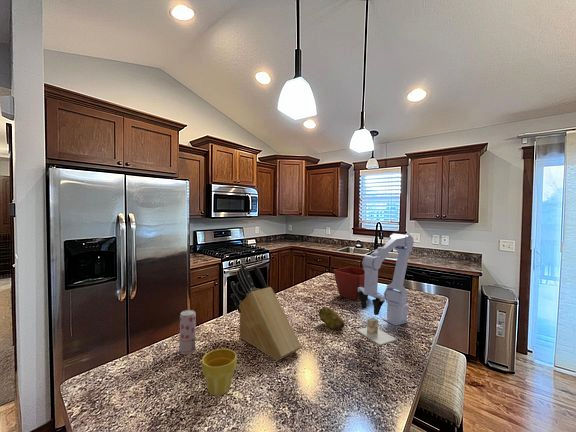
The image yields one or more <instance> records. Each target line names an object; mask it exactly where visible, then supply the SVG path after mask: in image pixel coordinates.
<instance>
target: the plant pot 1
mask: <svg viewBox="0 0 576 432" xmlns="http://www.w3.org/2000/svg"><path fill="white" fill-rule="evenodd" d="M237 359H238V358H237V353H236V352H235V351H234V350H232V349H229V348H217V349H213V350H210V351H209V352H207V353H205V354H204V356H202V358H201V373H202V374H203V375H204V377H205V382H206V383H205V384H206V388H207V391H208V393H209V394H210V395H212V396H217V397H218V396H222V395H225V394H227V393H228V392H229V391H230V389H231V386H232V381H233V376H234V373H235V372H234V371H235V370H236V368H237V362H238V360H237Z"/></svg>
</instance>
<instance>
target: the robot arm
mask: <svg viewBox="0 0 576 432" xmlns="http://www.w3.org/2000/svg"><path fill="white" fill-rule="evenodd" d="M414 242H415V241H414V238H413V236H412V235H411V234H401V233H396V232H395V233H393V232H392V234H390V235H389V237H388V241H387V242H386V243H385V244H384V245H383V246H378V247H377V248H376V249H375V250H374V251H372V253H371V254H369V255H368V254H367V255H365V256H364V257H363V259H362V261H361V265H362V268H363V269H364V271H365V282H364V288H363V287H358V292H359V293H357V295H358V297H359V299H360V300H359V301H360V305H361V307H360V308H361V309H362V310H364V309H365V310H366V309H367V305H368V304H367V302H368V298H369V296H370V297H373V299H372V300H371V301H372V305H373V314H374V316H378V315H379V314H380V311H381V308H382V306H383V304H384V303H386V305H387V309H386V310H387V311H386V317H383V318H382V320H384V321H385V322H388V323H389V324H392V325H393V326H399V325H403V324H407V323H409V320H408V306H407V305H406V304H407V303H408V290H407V289H406V287H405V286H404V282H405V276H406V272H407V268H408V262H409V257H410V253H412V251H413V247H414ZM392 250H395V251H397V256H396V257H397V259H396V263H395V267H394V272H393V276H392V277H393V278H392V282H391V283H390V284H387V285H386V288H385V290H384V292H383V294H381V293H380V292H378V281H379V269H380V268H381V267H382V264H383V262H384V261H385V260H386V259H387V258H388V257H389V253H390V252H391V251H392Z"/></svg>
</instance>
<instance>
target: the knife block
mask: <svg viewBox="0 0 576 432" xmlns="http://www.w3.org/2000/svg"><path fill="white" fill-rule="evenodd" d="M252 271H253V272H254V273H255V276H256V277H257V279H258V281H259V282H260V284H261V287H262V288H256V286H255V283H254V281H253V280H254V279H253V278H252V276H251V274H250V272H249V269H248V268H247V265H246V264H241V265H240V267H239V268H238V269H237V271H236V276H237V280H238V281H237V282H236V283H235V281H231V282H230V287H231V290H232V292H233V293H231V294H230V298H231V300H232V302H233V303H234V306H235V308H236V310H237V312H238V313H239V338H240V339H242V340H243V341H244V342H246V343H248V344H249V345H252V346H253V347H255V348H257V350H259V351H261V352H262V353H263V354H265V355H266V356H269V357H270V358H272V359H273V360H274V361H277V362H278V361H280V360H283V359H284V358H286V357H288V356H290V355H292V354H293V353H296V352H297V351H299V350H300V349H302V344H301V343H300V341H299V339H298V336H297V335H296V333H295V330H294V329H293V326H292V325H291V323H290V321H289V319H288V317H287V315H286V312H285V311H284V309H283V307H282V305H281V304H280V302H279V299H278V297H277V295H276V294H275V291H274V290H273V288H272V287H271V286H268V285H267V284H266V281H265V278H264V276H263V273H262V272H261V270H260V268H259V267H258V266H255V267H254V268H253V269H252ZM238 286H240V287H241V289H242V291H240V289H239V287H238Z"/></svg>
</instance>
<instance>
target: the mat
mask: <svg viewBox="0 0 576 432" xmlns="http://www.w3.org/2000/svg"><path fill="white" fill-rule="evenodd" d="M356 332H357V333H359V334H361V335H362V336H363V337H365V338H367V339H369V341H372V342H373V343H375V344H377V345H378V346H383V345H387V344H390V343H393V342H397V341H398V339H397V338H396V337H394V336H392V335H390V334H388V333H386V332H385V331H383V330H382V329H379V328H378V333H375V334H369V333H368V332H367V326H366V327H362V328H358V329H356Z"/></svg>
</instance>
